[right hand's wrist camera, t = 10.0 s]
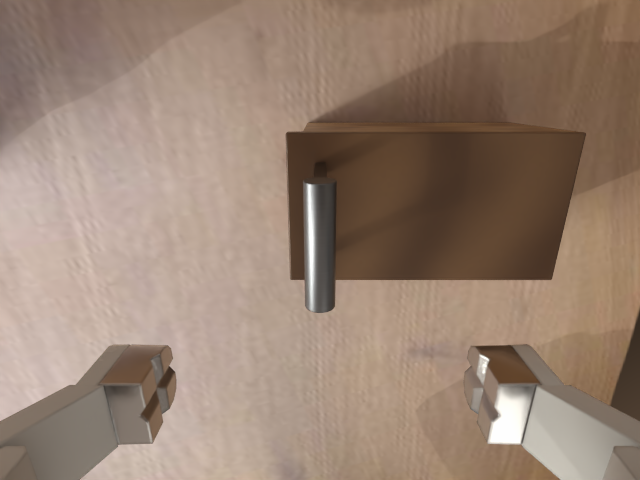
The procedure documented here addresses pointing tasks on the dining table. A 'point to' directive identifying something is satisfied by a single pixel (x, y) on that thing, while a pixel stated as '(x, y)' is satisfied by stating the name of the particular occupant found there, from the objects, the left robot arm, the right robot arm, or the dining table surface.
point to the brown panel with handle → (426, 206)
